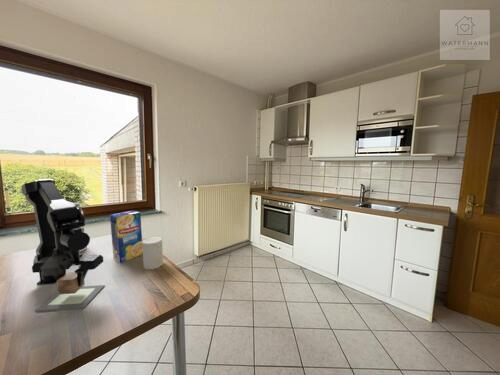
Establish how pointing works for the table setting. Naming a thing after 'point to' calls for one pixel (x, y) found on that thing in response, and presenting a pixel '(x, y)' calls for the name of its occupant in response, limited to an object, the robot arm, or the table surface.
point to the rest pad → (71, 299)
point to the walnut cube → (68, 283)
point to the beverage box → (126, 235)
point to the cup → (152, 252)
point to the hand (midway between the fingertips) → (71, 286)
